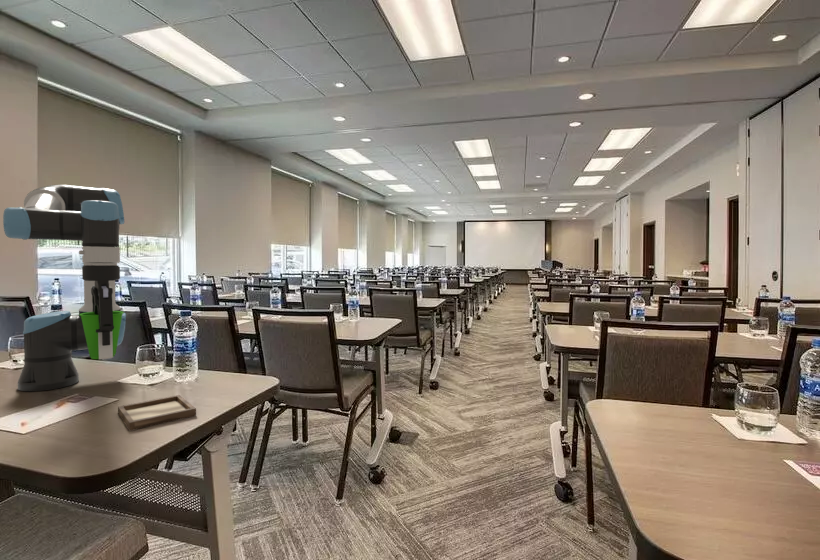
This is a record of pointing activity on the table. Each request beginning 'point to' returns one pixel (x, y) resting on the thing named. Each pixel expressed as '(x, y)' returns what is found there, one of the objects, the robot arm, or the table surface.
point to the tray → (155, 412)
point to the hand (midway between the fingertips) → (103, 354)
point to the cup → (90, 327)
